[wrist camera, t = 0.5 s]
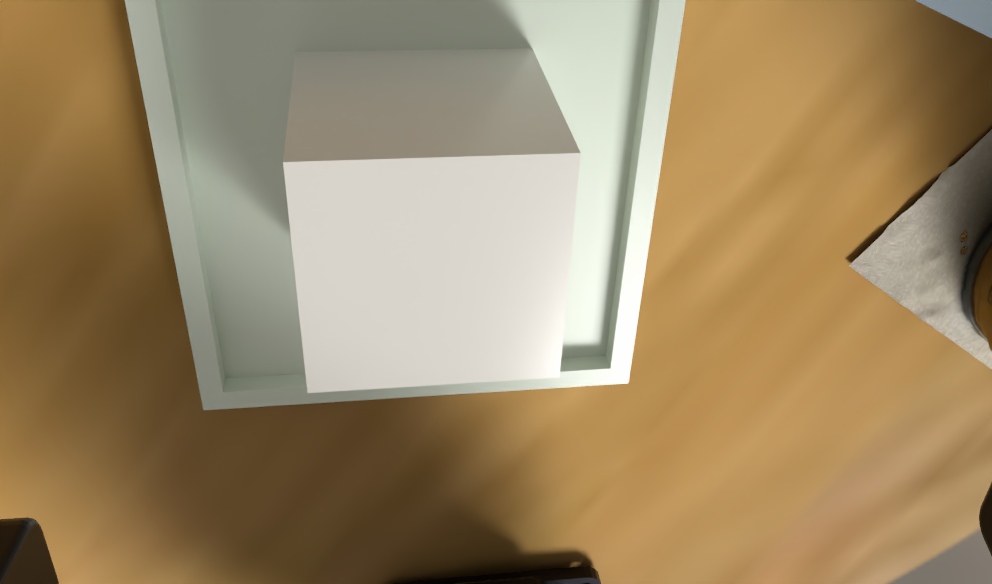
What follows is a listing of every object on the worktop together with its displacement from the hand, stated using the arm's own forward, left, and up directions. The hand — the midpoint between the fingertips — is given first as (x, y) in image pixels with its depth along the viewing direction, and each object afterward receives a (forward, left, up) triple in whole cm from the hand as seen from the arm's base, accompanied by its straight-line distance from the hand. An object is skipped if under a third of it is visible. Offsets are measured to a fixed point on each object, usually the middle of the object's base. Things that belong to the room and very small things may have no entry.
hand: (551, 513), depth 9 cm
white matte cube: (-2, +1, -12) cm, 12 cm away
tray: (-2, +1, -12) cm, 12 cm away
